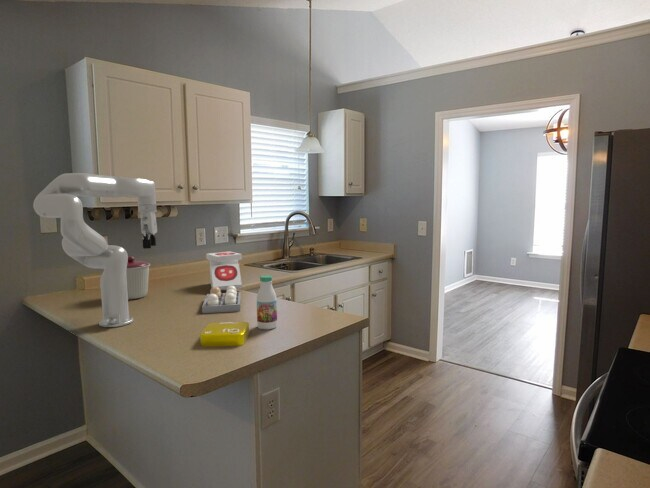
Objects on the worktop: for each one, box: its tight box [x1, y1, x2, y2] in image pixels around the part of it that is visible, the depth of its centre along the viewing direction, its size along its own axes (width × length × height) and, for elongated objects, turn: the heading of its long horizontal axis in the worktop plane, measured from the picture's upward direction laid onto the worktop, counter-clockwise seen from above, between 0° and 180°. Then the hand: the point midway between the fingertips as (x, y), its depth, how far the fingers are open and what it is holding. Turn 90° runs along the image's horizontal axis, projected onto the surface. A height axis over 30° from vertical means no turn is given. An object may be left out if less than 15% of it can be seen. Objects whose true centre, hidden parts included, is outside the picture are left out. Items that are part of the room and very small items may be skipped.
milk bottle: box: [256, 275, 278, 330], centre depth 163 cm, size 8×8×20 cm
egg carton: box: [201, 286, 242, 314], centre depth 196 cm, size 24×16×7 cm
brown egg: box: [209, 287, 222, 297], centre depth 203 cm, size 5×5×6 cm
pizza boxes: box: [205, 251, 243, 291], centre depth 235 cm, size 19×30×18 cm, turn 18°
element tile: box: [199, 321, 250, 347], centre depth 151 cm, size 15×15×5 cm
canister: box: [126, 255, 151, 300], centre depth 213 cm, size 18×18×21 cm
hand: (149, 247), depth 189 cm, fingers open, 9 cm apart
